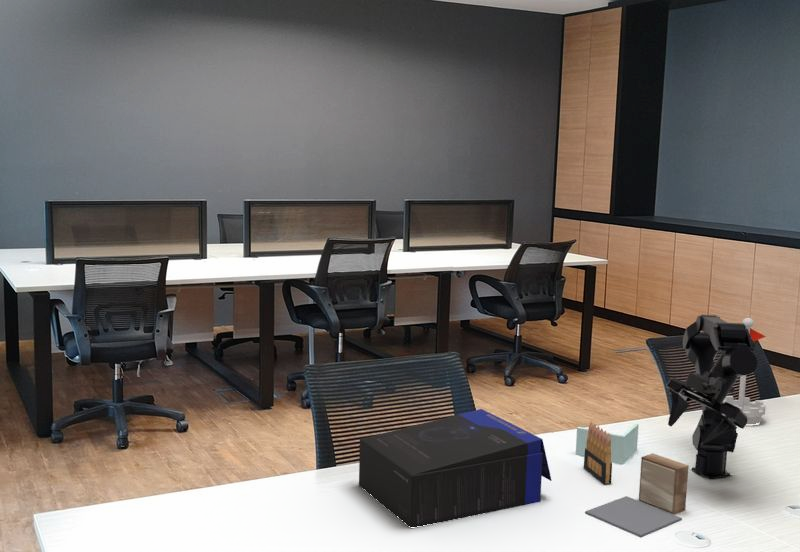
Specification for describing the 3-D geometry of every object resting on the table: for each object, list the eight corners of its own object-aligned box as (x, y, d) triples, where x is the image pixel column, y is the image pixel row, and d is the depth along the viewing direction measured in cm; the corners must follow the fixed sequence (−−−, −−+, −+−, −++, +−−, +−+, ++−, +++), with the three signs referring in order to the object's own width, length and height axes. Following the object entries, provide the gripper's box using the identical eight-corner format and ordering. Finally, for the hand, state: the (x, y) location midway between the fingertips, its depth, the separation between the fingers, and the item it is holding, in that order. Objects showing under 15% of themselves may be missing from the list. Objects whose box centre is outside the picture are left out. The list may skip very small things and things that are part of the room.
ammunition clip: (611, 484, 197) (614, 434, 196) (604, 485, 197) (607, 434, 195) (590, 467, 208) (593, 419, 206) (583, 468, 207) (586, 420, 205)
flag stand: (720, 425, 243) (728, 321, 239) (711, 411, 256) (719, 312, 251) (769, 428, 241) (778, 323, 237) (758, 415, 254) (766, 315, 249)
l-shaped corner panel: (636, 452, 220) (638, 424, 219) (622, 466, 210) (624, 436, 209) (591, 443, 227) (593, 415, 226) (575, 456, 216) (577, 427, 215)
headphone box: (551, 500, 188) (554, 437, 186) (410, 529, 172) (412, 461, 170) (488, 463, 209) (491, 406, 207) (358, 486, 193) (359, 425, 191)
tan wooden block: (649, 496, 191) (652, 453, 189) (685, 510, 184) (688, 465, 182) (637, 501, 188) (640, 457, 187) (673, 515, 181) (676, 469, 180)
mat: (626, 497, 190) (626, 496, 190) (681, 519, 179) (681, 517, 179) (585, 513, 181) (585, 511, 181) (640, 537, 170) (640, 535, 170)
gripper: (674, 345, 196) (637, 402, 194) (744, 375, 181) (704, 437, 179) (695, 367, 202) (659, 422, 201) (764, 398, 187) (726, 458, 186)
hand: (685, 434), depth 191 cm, fingers open, 9 cm apart
